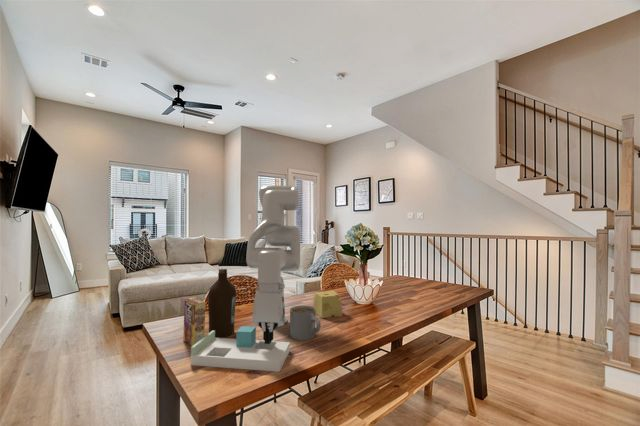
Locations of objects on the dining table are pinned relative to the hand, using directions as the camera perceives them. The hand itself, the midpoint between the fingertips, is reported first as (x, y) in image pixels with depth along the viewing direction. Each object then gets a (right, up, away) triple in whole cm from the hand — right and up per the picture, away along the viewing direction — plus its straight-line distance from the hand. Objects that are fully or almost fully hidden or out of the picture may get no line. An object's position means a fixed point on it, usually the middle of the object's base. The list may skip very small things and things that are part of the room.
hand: (268, 342), depth 100 cm
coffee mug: (+12, -5, +16) cm, 20 cm away
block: (-8, -1, +1) cm, 8 cm away
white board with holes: (-8, -4, -3) cm, 9 cm away
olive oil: (-21, -4, +18) cm, 28 cm away
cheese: (+21, -6, +43) cm, 48 cm away
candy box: (-29, -4, +9) cm, 30 cm away
